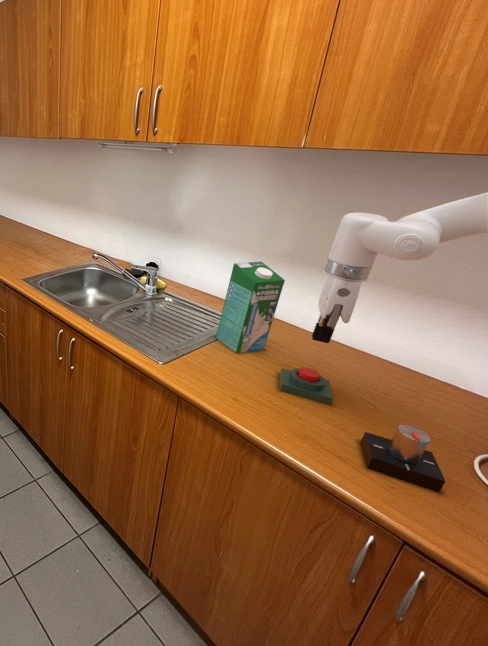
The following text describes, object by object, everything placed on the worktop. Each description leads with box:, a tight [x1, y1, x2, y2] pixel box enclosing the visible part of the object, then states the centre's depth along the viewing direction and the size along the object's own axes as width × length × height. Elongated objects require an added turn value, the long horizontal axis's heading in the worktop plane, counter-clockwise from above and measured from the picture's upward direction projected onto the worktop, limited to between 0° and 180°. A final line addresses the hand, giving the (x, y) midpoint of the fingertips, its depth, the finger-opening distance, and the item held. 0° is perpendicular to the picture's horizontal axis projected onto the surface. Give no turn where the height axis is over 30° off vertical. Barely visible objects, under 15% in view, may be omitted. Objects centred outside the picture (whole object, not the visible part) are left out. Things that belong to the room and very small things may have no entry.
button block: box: [278, 367, 334, 406], centre depth 99 cm, size 10×8×4 cm
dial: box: [387, 424, 431, 464], centre depth 76 cm, size 4×4×6 cm
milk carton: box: [215, 261, 286, 354], centre depth 115 cm, size 9×9×25 cm
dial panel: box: [359, 431, 446, 493], centre depth 78 cm, size 10×9×3 cm
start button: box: [298, 366, 321, 382], centre depth 98 cm, size 4×4×2 cm
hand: (320, 339), depth 95 cm, fingers closed
